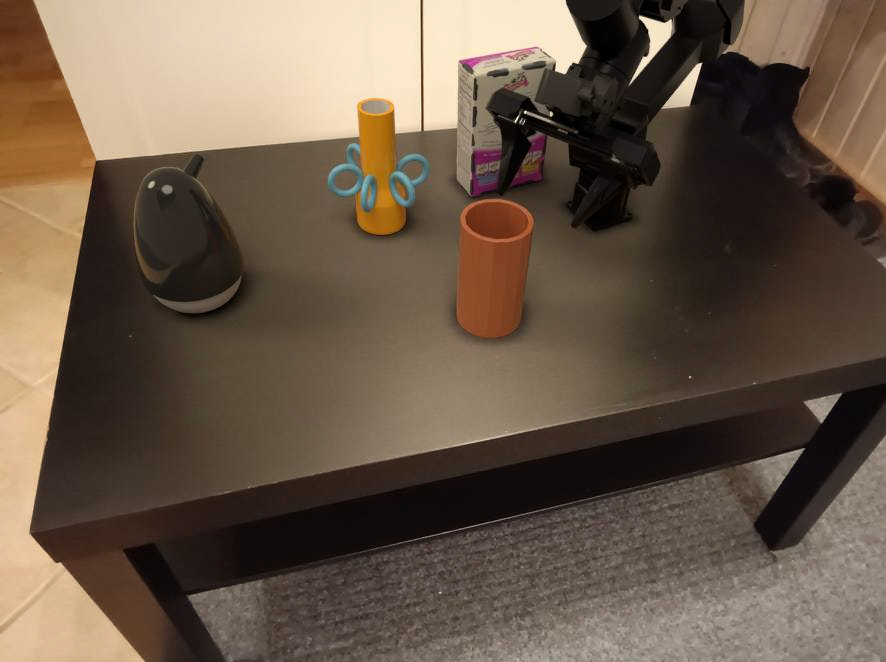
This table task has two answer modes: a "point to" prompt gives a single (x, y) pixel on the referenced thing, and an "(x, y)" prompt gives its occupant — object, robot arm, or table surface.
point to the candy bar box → (476, 124)
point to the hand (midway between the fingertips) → (535, 210)
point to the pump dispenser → (184, 241)
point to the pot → (492, 266)
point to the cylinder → (379, 171)
